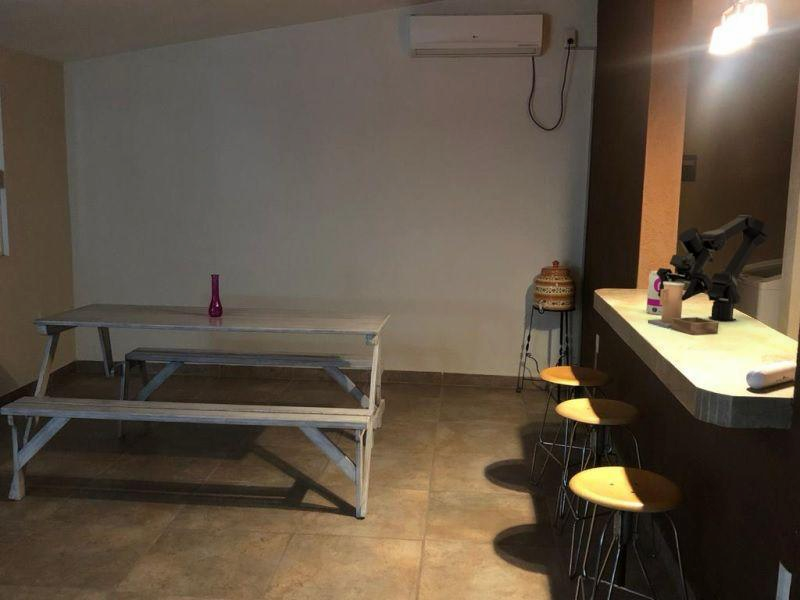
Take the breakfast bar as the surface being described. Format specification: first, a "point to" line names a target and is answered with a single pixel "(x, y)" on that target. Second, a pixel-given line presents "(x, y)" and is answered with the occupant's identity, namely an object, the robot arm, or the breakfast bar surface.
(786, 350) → the breakfast bar surface
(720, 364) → the breakfast bar surface
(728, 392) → the breakfast bar surface
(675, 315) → the peach plastic cup
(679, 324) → the frame
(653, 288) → the supplement can
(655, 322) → the tile
